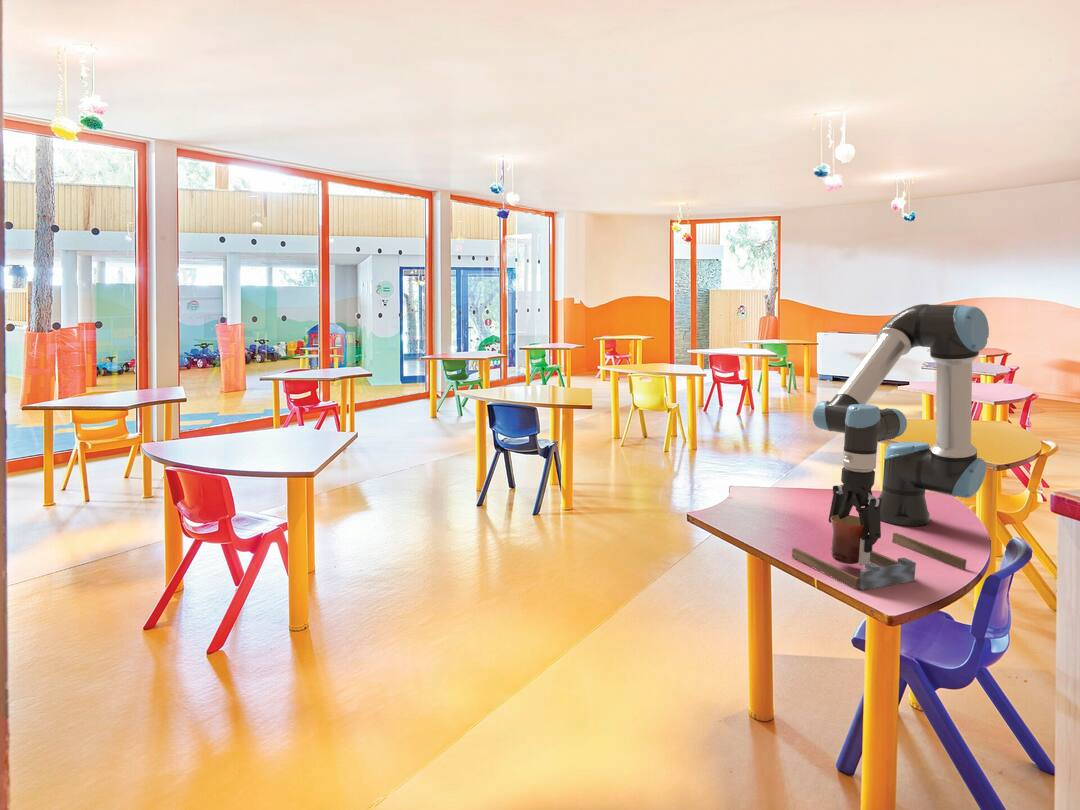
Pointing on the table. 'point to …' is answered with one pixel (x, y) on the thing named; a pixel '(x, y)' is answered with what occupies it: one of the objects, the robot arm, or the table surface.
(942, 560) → the bar
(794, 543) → the table surface
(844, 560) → the mug
